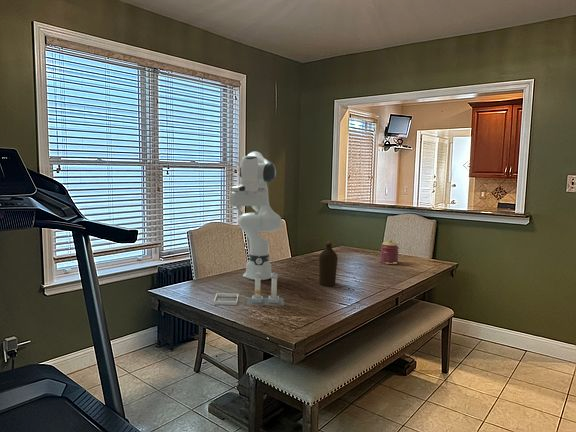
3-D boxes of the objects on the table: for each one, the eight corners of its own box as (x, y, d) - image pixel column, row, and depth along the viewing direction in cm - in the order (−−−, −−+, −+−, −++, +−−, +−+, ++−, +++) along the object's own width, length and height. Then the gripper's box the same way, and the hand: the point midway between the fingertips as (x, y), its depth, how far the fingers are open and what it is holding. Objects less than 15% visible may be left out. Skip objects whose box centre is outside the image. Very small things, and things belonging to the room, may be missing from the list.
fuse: (270, 300, 218) (271, 272, 216) (276, 300, 218) (277, 272, 216) (270, 302, 215) (271, 274, 213) (276, 302, 215) (277, 274, 213)
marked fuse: (254, 300, 217) (255, 272, 216) (260, 300, 217) (261, 272, 216) (254, 301, 214) (254, 273, 213) (260, 302, 214) (261, 273, 213)
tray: (216, 298, 221) (216, 293, 221) (238, 298, 222) (238, 293, 221) (213, 306, 208) (213, 301, 208) (236, 306, 209) (237, 301, 209)
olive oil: (330, 287, 248) (332, 244, 246) (314, 284, 254) (316, 241, 252) (339, 284, 257) (341, 241, 254) (323, 280, 263) (325, 239, 260)
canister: (386, 260, 330) (388, 237, 328) (401, 263, 320) (403, 239, 318) (376, 262, 321) (377, 238, 319) (391, 265, 311) (392, 241, 309)
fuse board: (247, 299, 221) (247, 293, 221) (283, 299, 223) (283, 294, 222) (246, 306, 210) (246, 300, 209) (284, 307, 211) (284, 301, 210)
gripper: (263, 187, 232) (262, 213, 233) (228, 187, 220) (228, 214, 222) (269, 188, 227) (269, 215, 228) (234, 187, 215) (233, 215, 216)
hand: (248, 214), depth 225 cm, fingers open, 8 cm apart
